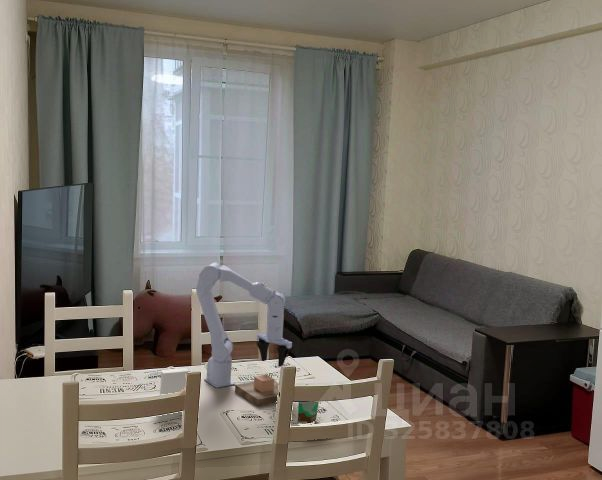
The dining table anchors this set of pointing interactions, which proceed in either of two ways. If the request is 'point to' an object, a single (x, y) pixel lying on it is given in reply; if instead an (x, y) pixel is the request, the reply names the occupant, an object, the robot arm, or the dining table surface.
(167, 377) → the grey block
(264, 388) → the terracotta block
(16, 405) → the dining table surface
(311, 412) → the food container
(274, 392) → the walnut base
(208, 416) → the dining table surface
